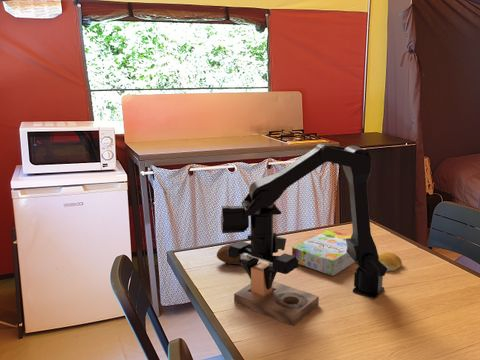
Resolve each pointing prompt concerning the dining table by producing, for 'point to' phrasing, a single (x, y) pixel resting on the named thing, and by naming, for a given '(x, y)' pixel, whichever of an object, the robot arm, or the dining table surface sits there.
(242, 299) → the socket board
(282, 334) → the dining table surface
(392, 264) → the bread roll
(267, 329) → the dining table surface
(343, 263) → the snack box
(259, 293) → the square peg
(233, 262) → the potato
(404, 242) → the dining table surface
